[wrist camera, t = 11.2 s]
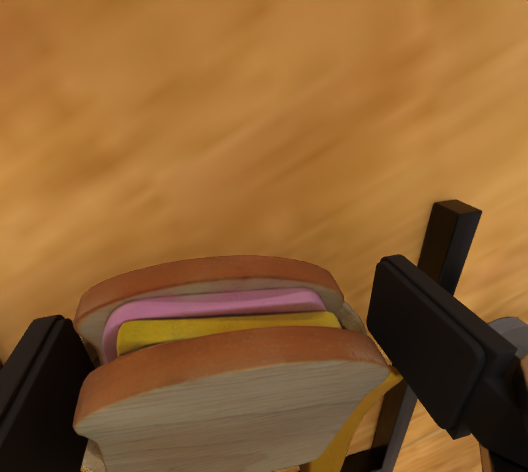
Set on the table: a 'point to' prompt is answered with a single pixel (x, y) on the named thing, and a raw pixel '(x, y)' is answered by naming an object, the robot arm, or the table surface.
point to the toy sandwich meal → (224, 368)
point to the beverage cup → (513, 333)
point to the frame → (447, 276)
